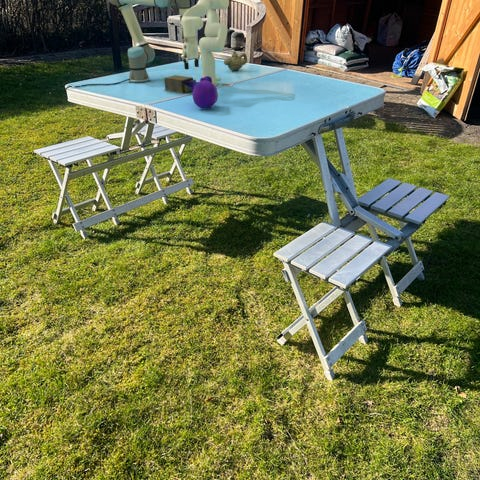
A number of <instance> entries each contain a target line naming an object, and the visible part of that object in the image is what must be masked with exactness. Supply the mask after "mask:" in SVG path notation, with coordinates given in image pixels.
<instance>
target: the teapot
mask: <svg viewBox="0 0 480 480" xmlns="http://www.w3.org/2000/svg"><path fill="white" fill-rule="evenodd" d="M242 58H243V60H242ZM247 63H248V56H247V53H246V52H242V53H240V54H238V53H237V52H236V50H233V53H232V54H231V57H226V58H225V59H224V60H223V64H224V65H225V66H227V67H228V69H229V71H231V72H237V71H240V69H242V68H243V66H244V65H246V64H247Z"/></svg>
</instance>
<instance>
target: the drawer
mask: <svg viewBox="0 0 480 480" xmlns="http://www.w3.org/2000/svg"><path fill="white" fill-rule="evenodd" d="M187 81H193V82H197V79H193V80H187ZM183 90H184V91H185V92H186V93H190V92H193V90H194V89H192V88H191V87H189V86H187V85H185V84H183Z"/></svg>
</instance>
